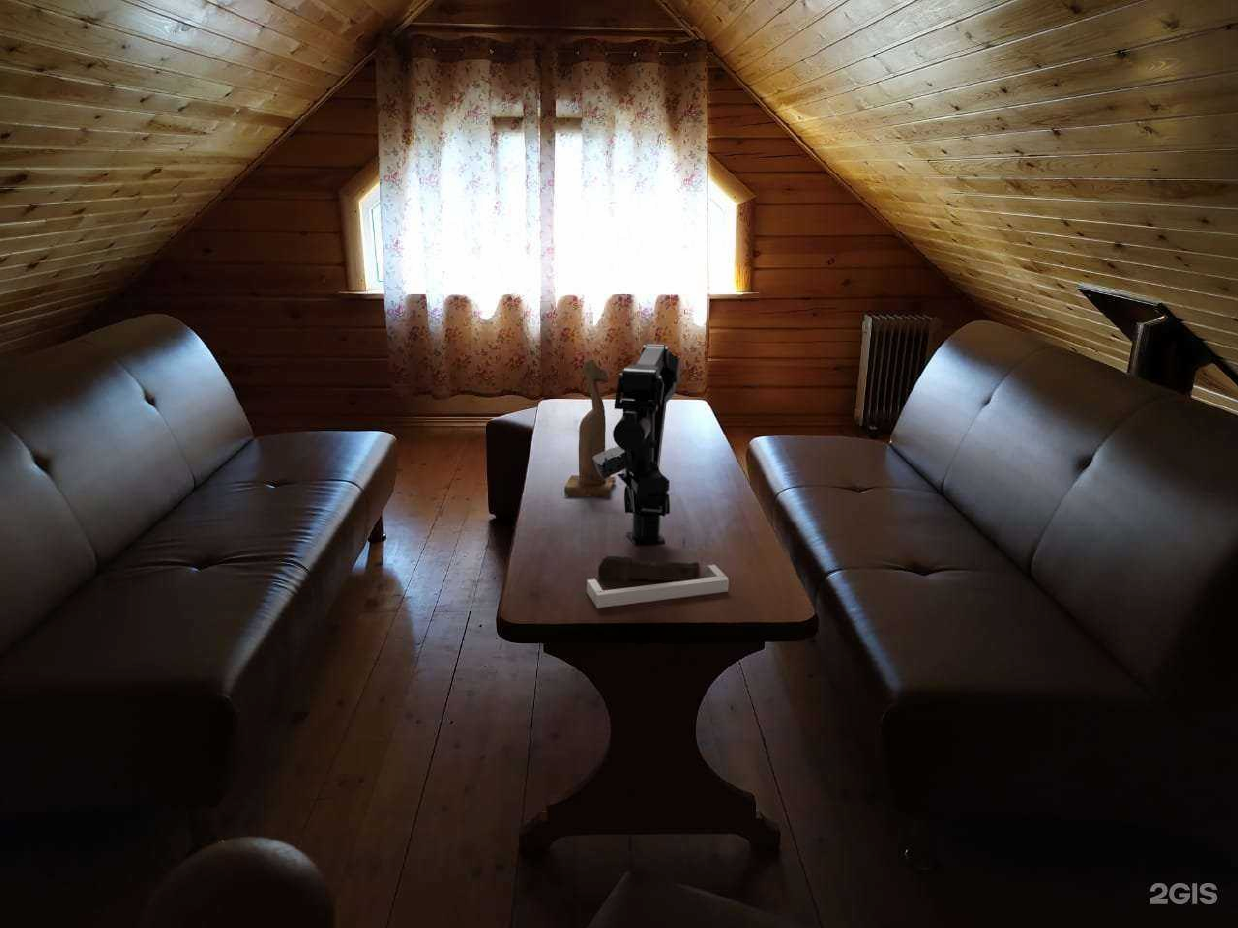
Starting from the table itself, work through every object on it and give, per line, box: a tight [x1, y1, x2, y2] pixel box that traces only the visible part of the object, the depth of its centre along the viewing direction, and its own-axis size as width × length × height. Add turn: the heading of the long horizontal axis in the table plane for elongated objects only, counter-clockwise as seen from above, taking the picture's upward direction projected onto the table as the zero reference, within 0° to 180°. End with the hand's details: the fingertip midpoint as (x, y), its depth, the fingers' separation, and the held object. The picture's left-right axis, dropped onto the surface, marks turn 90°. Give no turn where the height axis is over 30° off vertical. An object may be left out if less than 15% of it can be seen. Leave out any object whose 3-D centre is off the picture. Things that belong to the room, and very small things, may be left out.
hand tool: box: [597, 555, 701, 582], centre depth 165 cm, size 19×4×5 cm, turn 84°
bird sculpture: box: [563, 359, 617, 499], centre depth 208 cm, size 11×12×32 cm
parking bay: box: [586, 564, 730, 609], centre depth 160 cm, size 6×25×2 cm, turn 108°
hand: (636, 512), depth 169 cm, fingers closed
